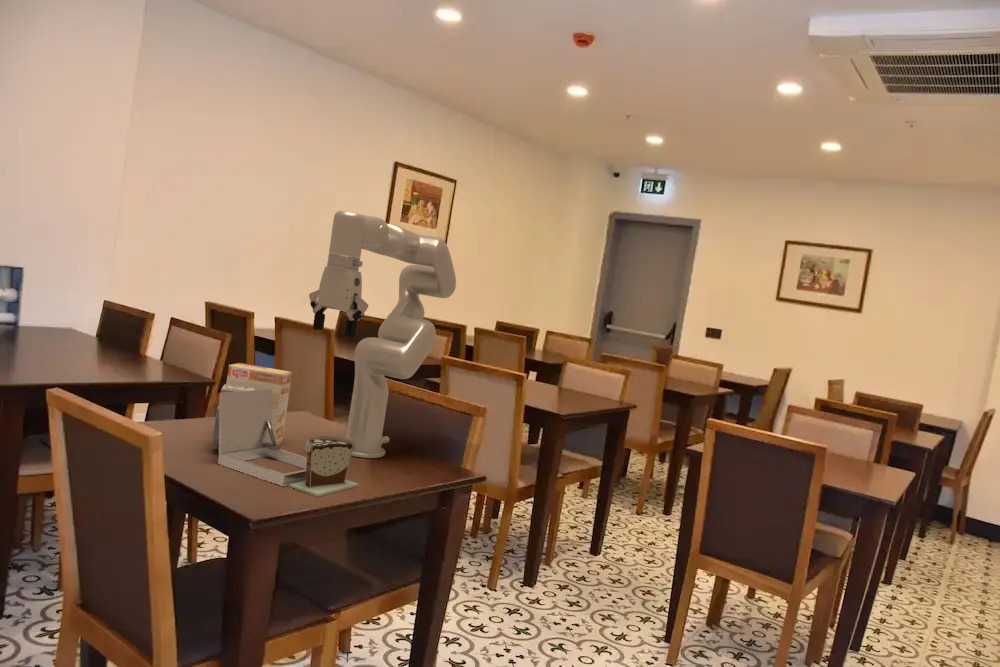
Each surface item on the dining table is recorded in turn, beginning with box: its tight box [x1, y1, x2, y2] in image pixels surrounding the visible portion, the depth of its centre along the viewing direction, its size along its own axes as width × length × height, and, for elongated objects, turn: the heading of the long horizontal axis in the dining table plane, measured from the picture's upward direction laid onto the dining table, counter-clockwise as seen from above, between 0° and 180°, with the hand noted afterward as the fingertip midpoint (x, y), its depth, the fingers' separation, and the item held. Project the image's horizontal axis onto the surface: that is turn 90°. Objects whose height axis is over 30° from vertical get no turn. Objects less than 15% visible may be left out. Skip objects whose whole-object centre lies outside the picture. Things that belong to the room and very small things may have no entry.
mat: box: [289, 479, 359, 498], centre depth 169 cm, size 14×8×1 cm, turn 153°
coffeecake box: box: [225, 362, 293, 445], centre depth 199 cm, size 15×7×20 cm, turn 84°
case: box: [217, 389, 307, 487], centre depth 176 cm, size 16×23×16 cm
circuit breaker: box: [212, 383, 255, 451], centre depth 186 cm, size 8×14×15 cm, turn 15°
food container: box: [304, 435, 355, 488], centre depth 170 cm, size 12×6×10 cm, turn 138°
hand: (333, 333), depth 182 cm, fingers open, 9 cm apart
